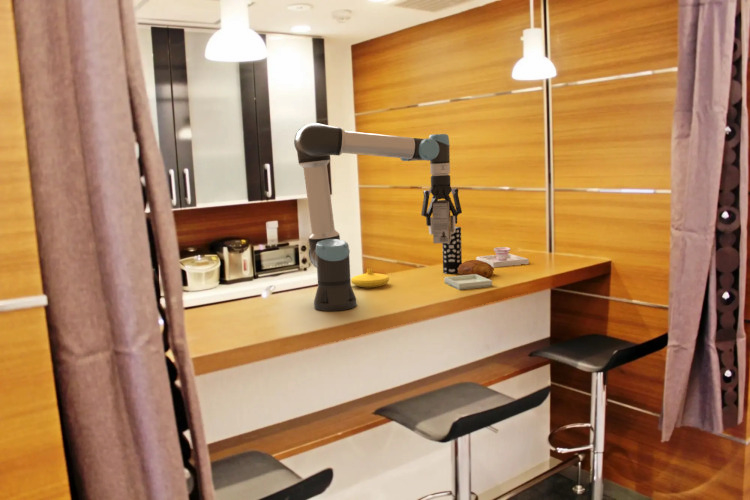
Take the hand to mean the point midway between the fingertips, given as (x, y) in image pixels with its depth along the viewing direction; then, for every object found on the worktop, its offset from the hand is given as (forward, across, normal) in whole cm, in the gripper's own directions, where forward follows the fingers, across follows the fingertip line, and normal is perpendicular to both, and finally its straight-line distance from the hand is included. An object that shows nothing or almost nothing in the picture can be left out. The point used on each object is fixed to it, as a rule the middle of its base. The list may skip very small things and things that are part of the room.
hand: (442, 233), depth 242 cm
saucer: (+22, +45, +39) cm, 64 cm away
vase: (+22, -26, +17) cm, 38 cm away
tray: (+22, +10, 0) cm, 24 cm away
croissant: (+22, +22, +16) cm, 35 cm away
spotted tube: (+22, +15, +28) cm, 39 cm away
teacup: (+22, +46, +39) cm, 64 cm away
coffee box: (+4, 0, 0) cm, 4 cm away
